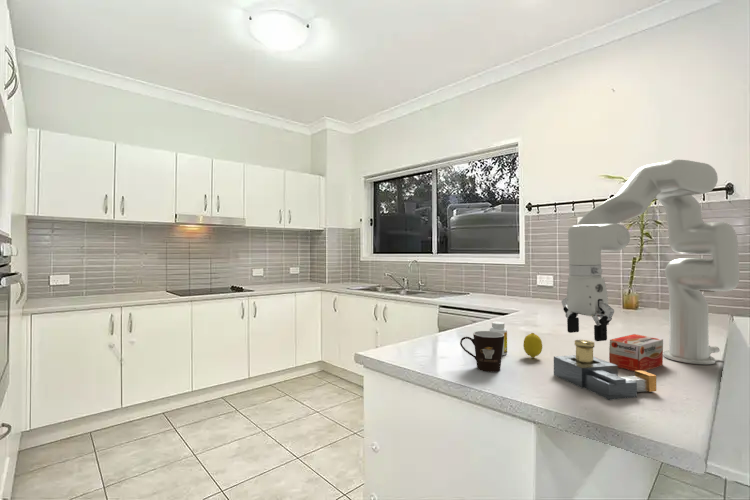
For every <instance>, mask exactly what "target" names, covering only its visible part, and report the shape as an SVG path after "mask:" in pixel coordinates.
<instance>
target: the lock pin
mask: <svg viewBox="0 0 750 500" xmlns="http://www.w3.org/2000/svg"><path fill="white" fill-rule="evenodd" d="M620 377H621V378H624V379H626V381H627V380H632V381H635V382H637V393H640V392H642V393H643V392H649V393H651V392H657V375H656V374H653V373H651V372H647V371H642V370H638V371H635V372H634V375H630V376H629V375H628V376H627V375H626V376H620Z"/></svg>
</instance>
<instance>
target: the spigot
mask: <svg viewBox="0 0 750 500" xmlns="http://www.w3.org/2000/svg"><path fill="white" fill-rule="evenodd" d="M574 346H575V355H576V362H578V363H581V364H593V357H594V348H595V342H594V341H592V340H587V339H575V340H574Z"/></svg>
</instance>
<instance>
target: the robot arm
mask: <svg viewBox="0 0 750 500" xmlns="http://www.w3.org/2000/svg"><path fill="white" fill-rule="evenodd" d="M718 178H719V177H718V173H717V171H716V169H715V168H714V167H713V166H712V165H711V164H708V163H705V162H700V161H693V160H689V159H672V160H666V161H662V162H656V163H651V164H646V165H643V166H640V167H639V168H637V169H636V170H635V171H634V172H633V173H632V174H631V176H630V177H629V178H628V179H627V181H626V182H625V183H624V185H623V186H622V187H621V188H620V189H619V190H618V192H617V193H616V194H615V195H614V196H612V197H611V198H608V199H607V200H605V201H604V202H602V203H600V204H599V205H597V206H596V207H594V208H592V209H591V210H589V211H588V212H587V213H586V214H584V216H582V217H581V219H580V220H579V221H578V223H576V225H571V226H570V227H568V230H567V243H568V246H567V249H568V251H567V252H568V278H567V284H566V286H567V287H566V297H565V298H563V299H562V300H561V305H562V307H563V310H562V311H563V312H564V313H565V314H564V315H565V317H566V318H567V319H566V323H567V326H566V327H567V333H569V334H571V333H579V331H580V320H579V319H580V318H579V317H578V316H579V315H581V316H586V317H591V318H592V320H593V321H594V323H595V324H594V326H593V329H594V330H593V333H594V337H593V340H594V341H595V342H604V341H605V342H606V341H608V325H610V322H611V321H612V319H613V316H614V313H615V309H613V307H611V305H609V299H608V298H609V297H608V291H607V285H606V281H605V278H604V277H602V276H603V275H602V273H603V269H602V253H603V252H604V253H605V252H606V253H607V252H609V253H611V252H613V253H614V252H618V251H621V250H624V249H625V248H626V247H628V245H629V243H630V241H631V233H630V231H629V230H628V228H627V227H625V226H624V225H622V224H620V223H623V222H627V221H630V220H632V219H635V218H637V217H640V216H641V215H643V214H644V213H645V212H646V211H647V209H648V208H649V206H650V205H651V204H652V202H653V200H655V199H656V200H657V201H658V202H659V203H660V204H661V205H662V206H663V208H664V210H665V213H666V218H667V219H666V220H667V233H668V234H667V235H668V243H669V247H670V250H671V251H673V252H674V253H676V254H683V255H710V256H711V258H701V257H698V258H697V257H696V258H695V257H682V258H676V259H673V260H670V261H669V262H668V263H667V265H666V266H665V270H664V272H665V279H666V282H667V289H668V301H669V302H668V303H669V305H668V306H669V308H668V309H669V310H668V311H669V314H668V315H669V317H668V321H669V322H668V324H669V325H668V327H669V330H668V331H669V332H668V335H669V336H668V337H669V338H668V339H669V344H668V345H669V348H668V350H663V357H665V358H666V359H669V360H672V361H676V362H679V363H680V362H681V363H686V364H692V365H714V364H716V358H715V357H713V356H711V354H715V353H716V354H717V353H719V352H720V348H719V346H711V345H710V344H709V337H710V336H709V335H710V334H709V331H710V330H709V327H710V326H709V325H710V323H709V320H710V318H709V311H710V309H709V306H710V305H709V303H708V300H707V298H706V297H705V295H704V294H703V293H702V292H701V290H703V291H712V292H713V291H714V292H730V291H733V290H736V288H737V287H738V286H739V283H740V276H741V275H740V274H741V273H740V270H741V269H740V259H739V257H740V256H739V244H738V243H739V242H738V236H737V232H736V230H735V229H734V227H733V226H732V225H730V223H727V222H724V221H723V222H722V221H712V222H711V221H710V222H709V221H708V222H704V220H703V214H702V213H703V212H702V206H701V204H700V203H699V201H698V200H697V198H696V197H694V196H696V195H705V194H707V193H710V192H712V191H713V189H715V188H716V186H717V183H718Z"/></svg>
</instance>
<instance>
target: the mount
mask: <svg viewBox="0 0 750 500" xmlns="http://www.w3.org/2000/svg"><path fill="white" fill-rule="evenodd" d="M553 375H554V376H555V377H558V378H560V379H562V380H564V381H566V382H568V383H570V384H572V385H574V386H576V387H578V388H580V389H585V390H588V391H590V392H592V393H594V394H596V395H598V396H600V397H602V398H604V399H606V400H608V401H611V400H612V401H613V400H623V399H633V398H638V392H637V382H635V381H632V380H627V381H626V379H624V378H621V377H622V376H619V368H618V365H615V364H612V363H610V362H609V361H606V360H603V359H601V358H598V357H595V356H593V364H581V363H578V362H576V354H574V355H573V354H572V355H557V356H556V355H555V356H553Z"/></svg>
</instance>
